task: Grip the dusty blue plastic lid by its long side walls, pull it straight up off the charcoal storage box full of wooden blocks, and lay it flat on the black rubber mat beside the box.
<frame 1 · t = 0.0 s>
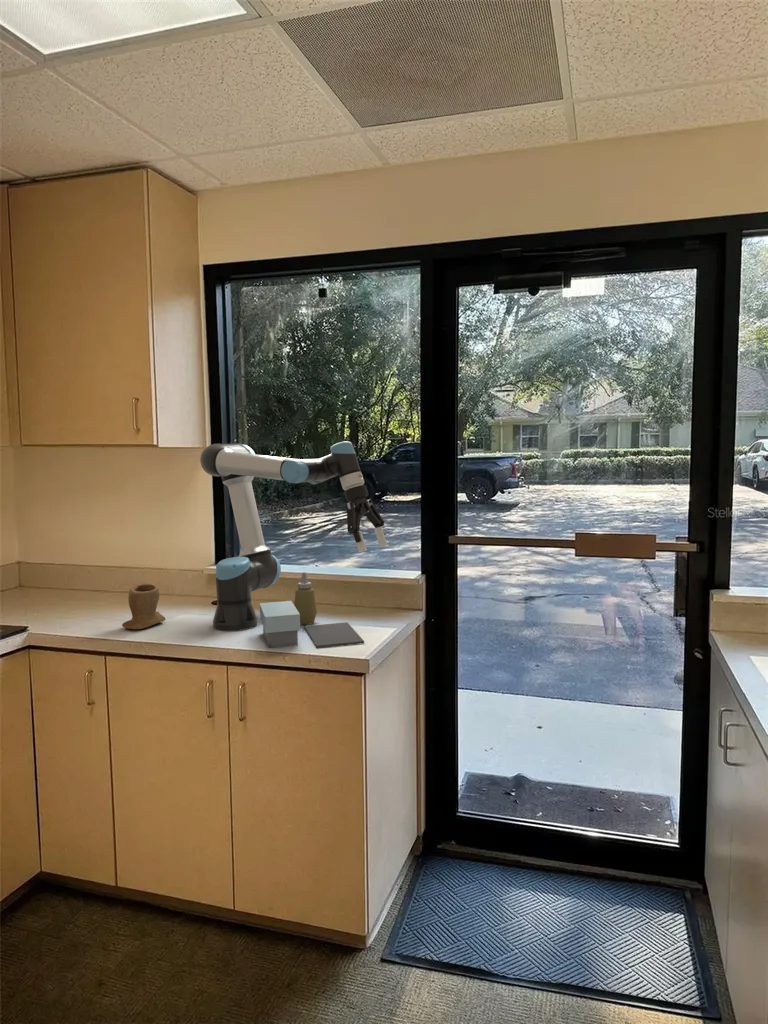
hand: (373, 548, 213), 28 cm above the counter, tool tilted 20°, fingers open, 13 cm apart
storage box: (279, 638, 210), on the counter
mat: (332, 635, 212), on the counter
lid: (279, 623, 209), point 5 cm above the counter, touching storage box
squeeze bottle: (305, 623, 229), on the counter
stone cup: (146, 626, 229), on the counter
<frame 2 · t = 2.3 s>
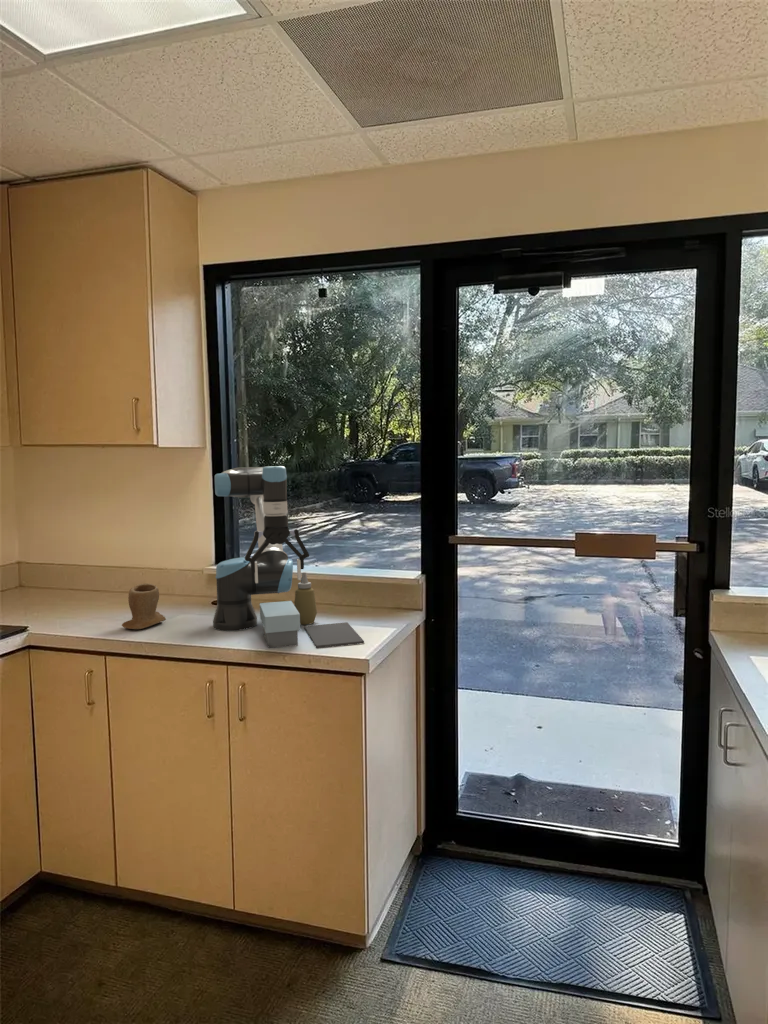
hand: (278, 581, 208), 19 cm above the counter, tool pointing down, fingers open, 13 cm apart
nothing on the counter moved.
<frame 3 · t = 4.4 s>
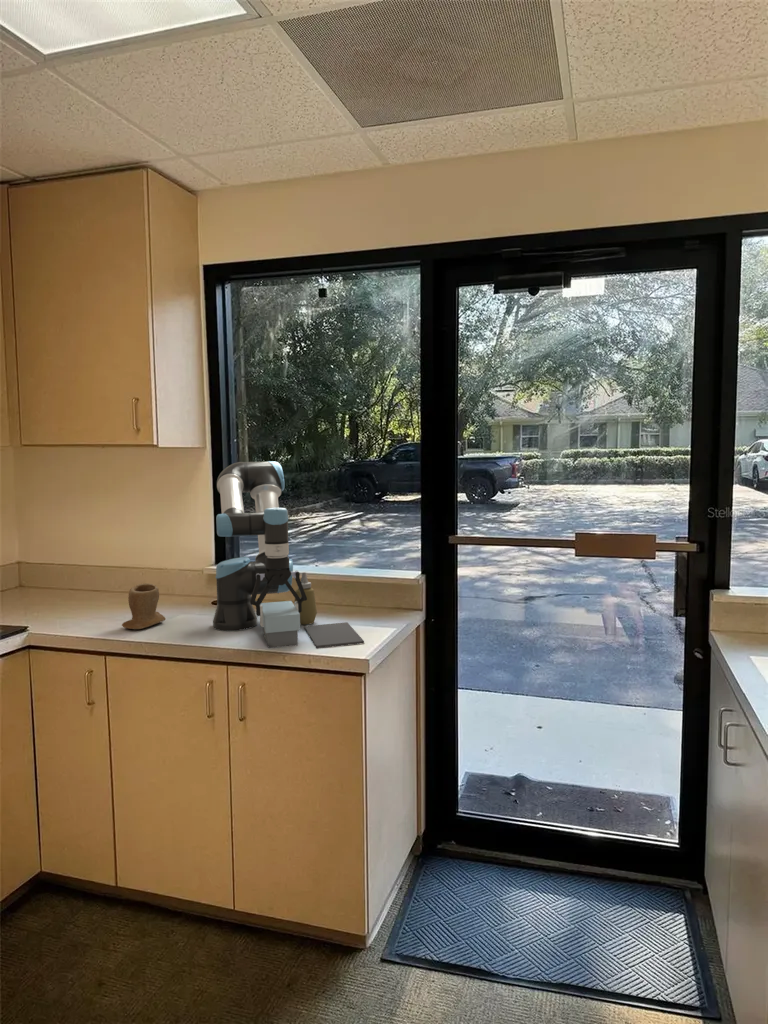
hand: (279, 624, 209), 5 cm above the counter, tool pointing down, fingers closed on lid, 11 cm apart
lid: (279, 623, 209), point 5 cm above the counter, touching gripper, storage box
everything else where it was.
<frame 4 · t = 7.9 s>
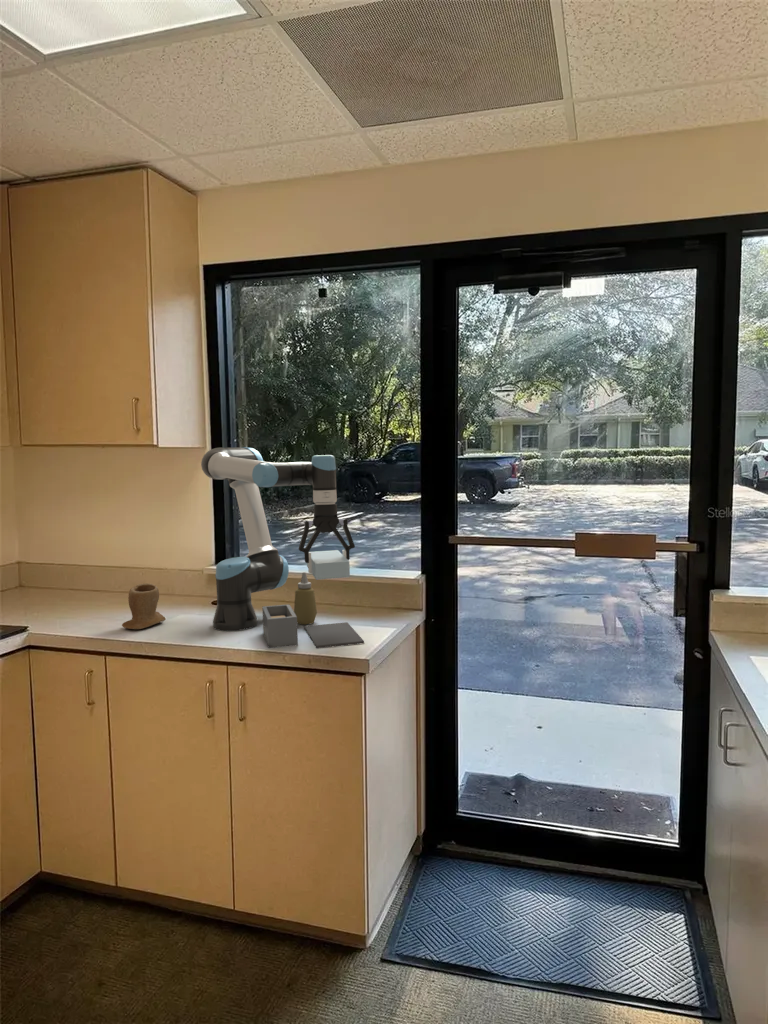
hand: (327, 571, 210), 21 cm above the counter, tool pointing down, fingers closed on lid, 11 cm apart
lid: (327, 571, 210), point 21 cm above the counter, touching gripper
everything else where it was.
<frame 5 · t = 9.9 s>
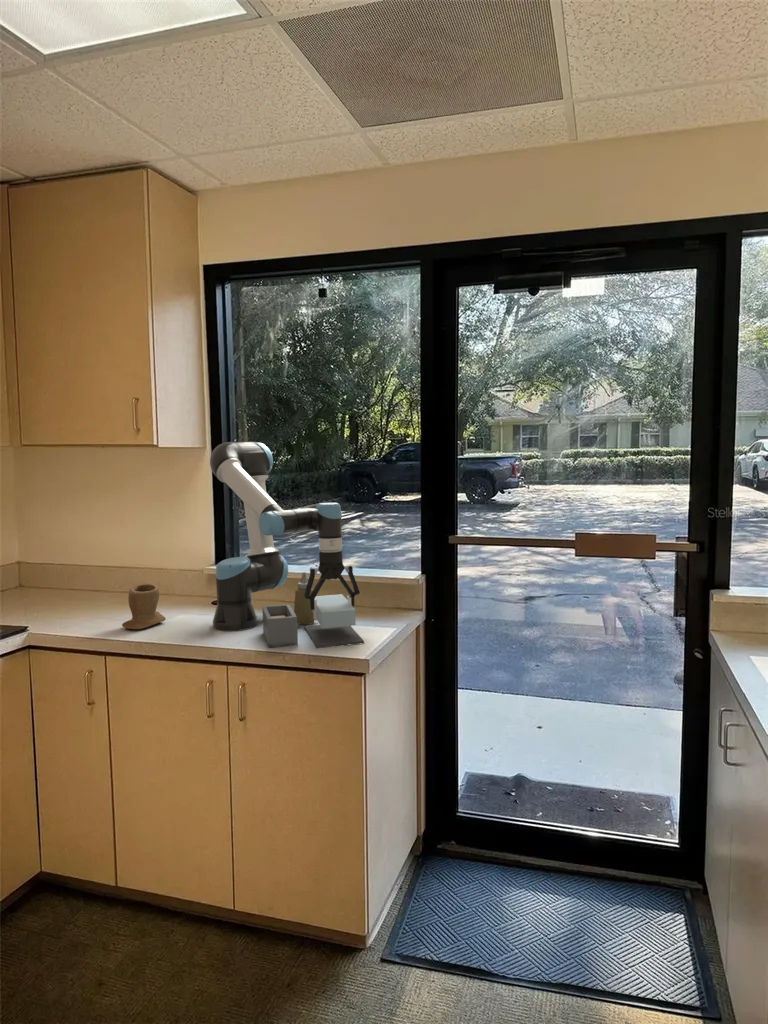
hand: (332, 617, 212), 6 cm above the counter, tool pointing down, fingers closed on lid, 11 cm apart
lid: (332, 617, 212), point 6 cm above the counter, touching gripper
everything else where it was.
when the fingers open (3 cm above the counter, at t = 11.5 s): lid drops 2 cm, resting on mat.
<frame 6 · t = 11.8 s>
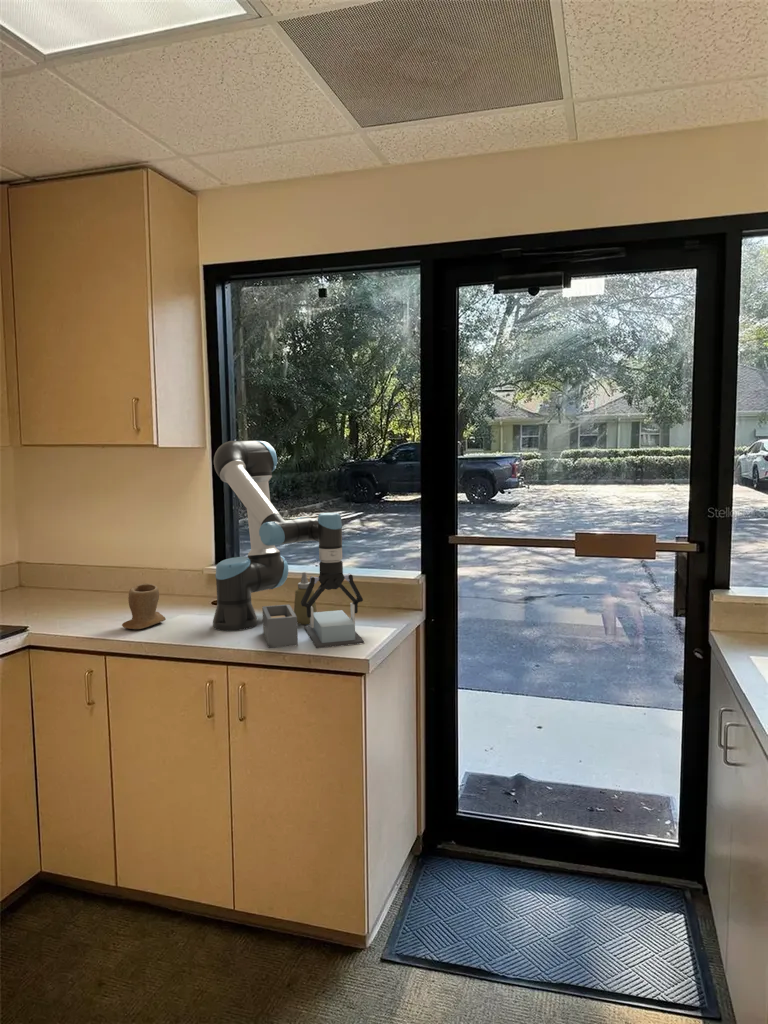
hand: (332, 625, 212), 3 cm above the counter, tool pointing down, fingers open, 13 cm apart
lid: (332, 633, 212), point 1 cm above the counter, touching mat
everything else where it was.
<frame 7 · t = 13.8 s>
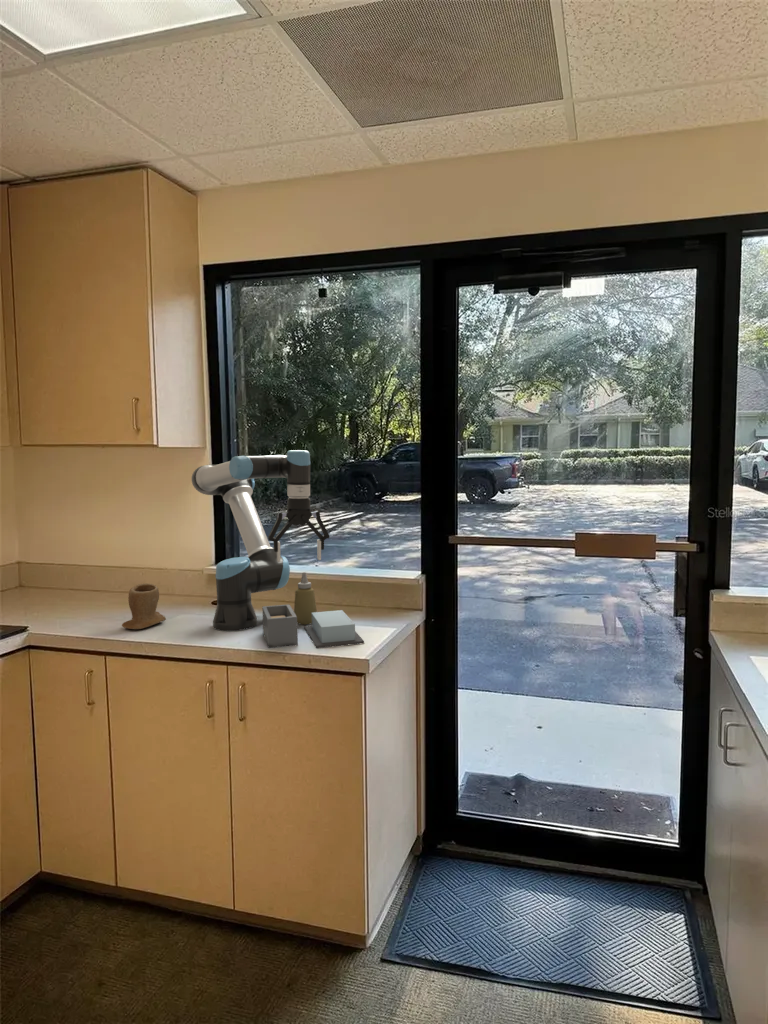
hand: (299, 560, 217), 24 cm above the counter, tool pointing down, fingers open, 13 cm apart
nothing on the counter moved.
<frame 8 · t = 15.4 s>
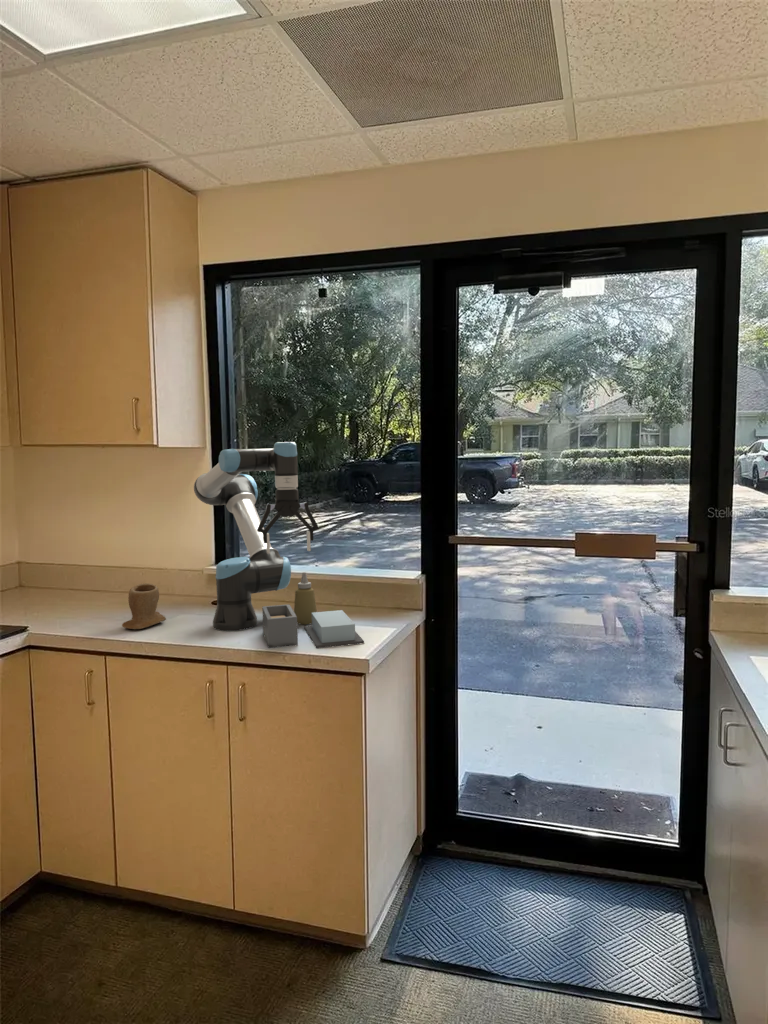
hand: (288, 551, 218), 27 cm above the counter, tool pointing down, fingers open, 13 cm apart
nothing on the counter moved.
at the end: lid inside the target area on the mat (0.0 cm from its centre), point 0.8 cm above the mat's base; lid tilted 0°; the gripper is holding nothing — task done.
